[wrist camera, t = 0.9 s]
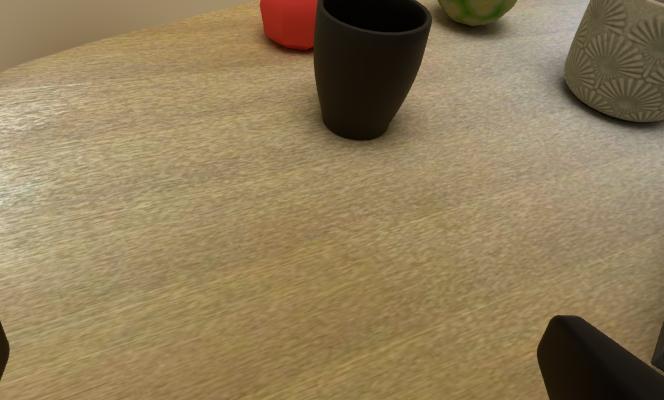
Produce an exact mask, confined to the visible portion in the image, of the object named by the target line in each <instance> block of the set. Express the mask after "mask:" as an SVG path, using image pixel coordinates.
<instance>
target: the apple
mask: <svg viewBox="0 0 664 400" xmlns="http://www.w3.org/2000/svg"><path fill="white" fill-rule="evenodd" d="M317 1H318V0H261V1H260V9H261V14H262V20H263V25H264V31H265V34H266V35H267V36H268V37H270V38H271V39H272V40H273V41H275V42H276V43H279V44H281V45H283V46H285V47H287V48H292V49H299V50H307V49H309V48H311V47H313V46H314V30H315V19H316V8H317Z"/></svg>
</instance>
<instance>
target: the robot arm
mask: <svg viewBox="0 0 664 400" xmlns="http://www.w3.org/2000/svg"><path fill="white" fill-rule="evenodd" d="M9 350H10V349H9V343H8V340H7V337H6V335H5V332H4V330H3V327H2V324H1V322H0V380H1V377H2V375H3V372H4V369H5V367H6V364H7V361H8V358H9ZM537 359H538V363H539V367H540V370H541V373H542V377H543V380H544V383H545V386H546V390H547V393H548V396H549V400H664V376H662V375H661V374H660V373H658V372H657V371H655V370H654V369H653V368H651V367H650V366H648V365H647V364H646V363H644V362H643V361H641V360H640V359H639V358H637V357H636V356H634V355H633V354H632V353H630V352H629V351H627V350H626V349H625V348H623V347H622V346H620V345H619V344H618V343H616V342H615V341H613V340H612V339H611V338H609V337H608V336H606V335H605V334H604V333H602V332H601V331H599V330H598V329H597V328H595V327H594V326H592V325H591V324H590V323H588V322H587V321H585V320H584V319H582V318H581V317H579V316H573V315H557V316H554V317H553V318H552V319H551V320H550V322H549V324H548V326H547V328H546V330H545V332H544V334H543V337H542V339H541V341H540V343H539V345H538V349H537Z"/></svg>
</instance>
